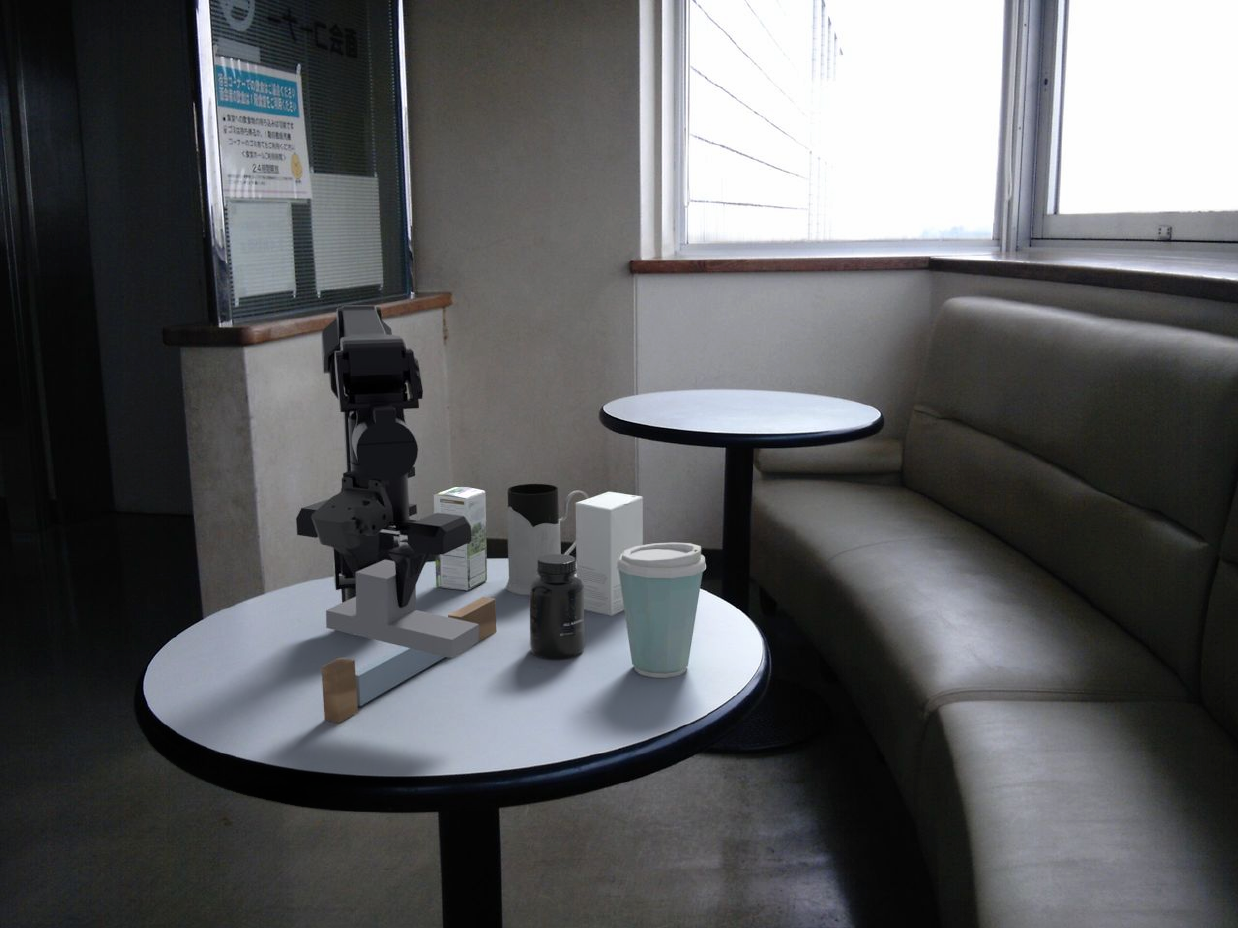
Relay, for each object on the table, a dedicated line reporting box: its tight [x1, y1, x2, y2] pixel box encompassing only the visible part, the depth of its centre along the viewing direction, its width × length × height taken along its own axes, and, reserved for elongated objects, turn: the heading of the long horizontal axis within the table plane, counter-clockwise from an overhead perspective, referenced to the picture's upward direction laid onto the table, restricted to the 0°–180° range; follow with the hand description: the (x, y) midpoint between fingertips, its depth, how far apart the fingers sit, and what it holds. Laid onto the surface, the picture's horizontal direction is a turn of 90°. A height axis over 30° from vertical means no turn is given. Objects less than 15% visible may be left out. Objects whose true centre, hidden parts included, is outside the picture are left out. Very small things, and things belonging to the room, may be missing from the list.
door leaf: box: [355, 646, 445, 707], centre depth 126 cm, size 1×19×4 cm, turn 154°
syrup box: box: [433, 486, 488, 591], centre depth 162 cm, size 6×6×14 cm
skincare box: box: [575, 491, 644, 617], centre depth 151 cm, size 8×7×16 cm
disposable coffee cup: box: [617, 541, 707, 679], centre depth 127 cm, size 11×11×15 cm
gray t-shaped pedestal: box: [325, 560, 480, 659], centre depth 113 cm, size 16×5×7 cm, turn 65°
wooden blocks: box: [320, 596, 497, 724], centre depth 128 cm, size 2×31×6 cm, turn 154°
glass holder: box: [505, 483, 590, 596], centre depth 162 cm, size 9×14×15 cm, turn 123°
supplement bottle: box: [529, 553, 585, 660], centre depth 134 cm, size 7×7×12 cm
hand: (386, 603), depth 114 cm, fingers closed on gray t-shaped pedestal, 4 cm apart
